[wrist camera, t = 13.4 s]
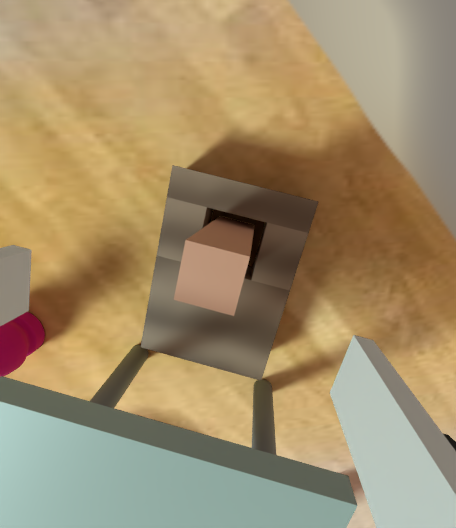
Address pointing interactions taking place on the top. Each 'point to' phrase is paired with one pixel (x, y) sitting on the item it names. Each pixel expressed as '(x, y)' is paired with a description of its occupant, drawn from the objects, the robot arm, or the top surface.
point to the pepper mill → (19, 341)
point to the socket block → (255, 281)
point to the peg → (215, 265)
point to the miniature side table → (150, 467)
